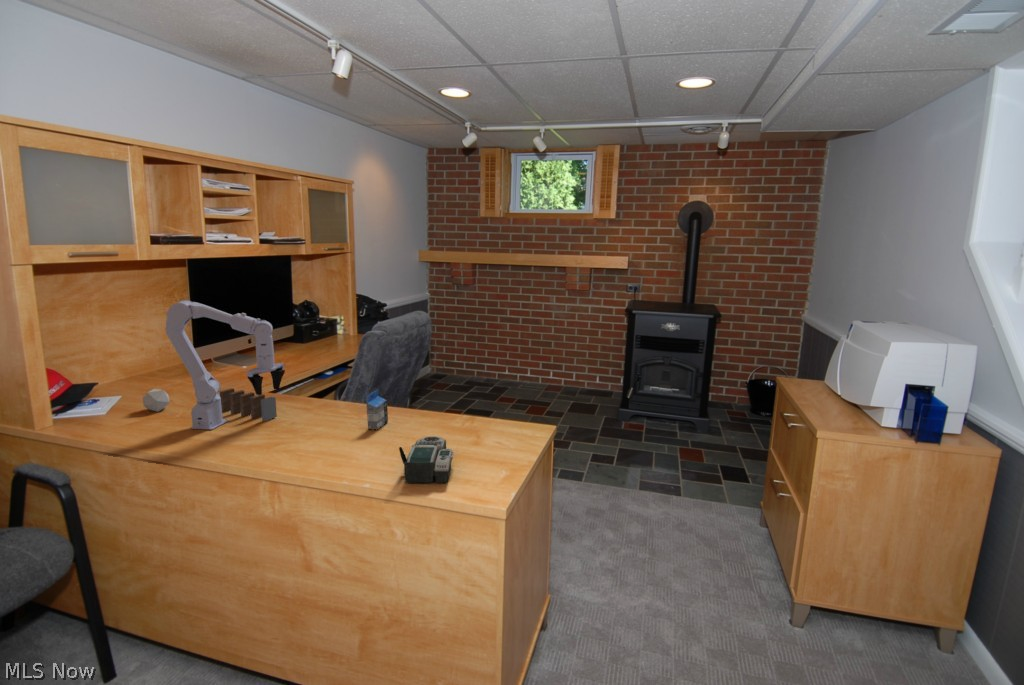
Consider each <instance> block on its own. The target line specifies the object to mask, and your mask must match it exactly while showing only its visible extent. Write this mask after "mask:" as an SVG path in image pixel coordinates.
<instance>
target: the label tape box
mask: <svg viewBox="0 0 1024 685" xmlns="http://www.w3.org/2000/svg"><path fill="white" fill-rule="evenodd" d="M365 400H366V401H365V402H366V415H367V416H366V418H367V430H368V429H379V428H380V427H381V428H382V427H383V426H385V425H386V424H387V423H388V422H389V417H388V415H389V413H388V400H387V399H385V398H383V397H381V396H379V389H376V390H374V391H372V392H370V393H369V394H368V395H366V399H365ZM386 422H387V423H386ZM385 423H386V424H385ZM384 424H385V425H384ZM381 428H380V429H381ZM380 429H379V430H380Z"/></svg>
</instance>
